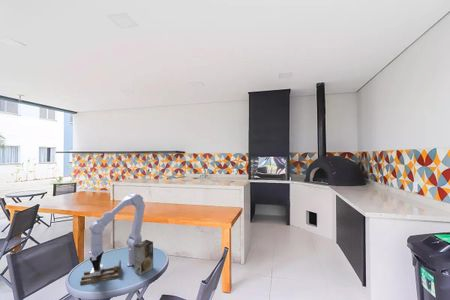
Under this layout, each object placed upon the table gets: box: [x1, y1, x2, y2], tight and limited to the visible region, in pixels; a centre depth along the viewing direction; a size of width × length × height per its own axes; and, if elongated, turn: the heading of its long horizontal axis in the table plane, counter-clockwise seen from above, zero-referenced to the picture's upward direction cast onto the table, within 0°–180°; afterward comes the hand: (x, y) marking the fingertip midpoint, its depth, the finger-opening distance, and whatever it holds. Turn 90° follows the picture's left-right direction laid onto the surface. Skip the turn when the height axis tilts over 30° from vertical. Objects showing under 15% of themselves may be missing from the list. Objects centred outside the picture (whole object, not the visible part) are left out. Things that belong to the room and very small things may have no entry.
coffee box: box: [134, 239, 154, 276], centre depth 128 cm, size 9×6×16 cm
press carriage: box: [90, 263, 104, 277], centre depth 121 cm, size 5×8×6 cm, turn 20°
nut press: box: [79, 259, 122, 286], centre depth 122 cm, size 19×10×6 cm, turn 110°
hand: (97, 267), depth 121 cm, fingers closed on press carriage, 3 cm apart
